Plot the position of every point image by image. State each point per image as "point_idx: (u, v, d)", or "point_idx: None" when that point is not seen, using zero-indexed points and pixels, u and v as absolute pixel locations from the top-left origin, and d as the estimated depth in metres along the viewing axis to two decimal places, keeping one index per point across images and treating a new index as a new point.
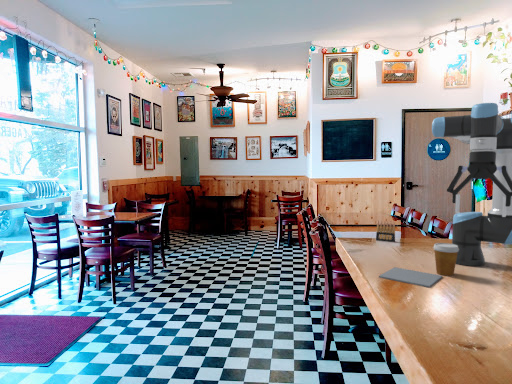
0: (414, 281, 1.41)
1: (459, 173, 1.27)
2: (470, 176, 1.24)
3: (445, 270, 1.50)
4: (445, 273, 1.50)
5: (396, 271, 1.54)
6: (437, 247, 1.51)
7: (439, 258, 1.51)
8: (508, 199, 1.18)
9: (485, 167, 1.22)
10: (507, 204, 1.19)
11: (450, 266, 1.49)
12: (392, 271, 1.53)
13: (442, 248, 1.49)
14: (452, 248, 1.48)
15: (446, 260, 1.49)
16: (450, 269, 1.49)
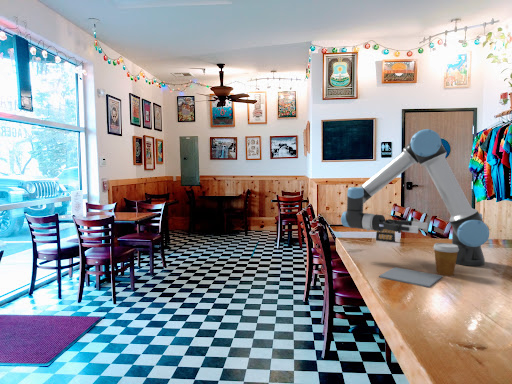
0: (414, 281, 1.41)
1: None
2: None
3: (445, 270, 1.50)
4: (445, 273, 1.50)
5: (396, 271, 1.54)
6: (437, 247, 1.51)
7: (439, 258, 1.51)
8: (403, 230, 1.55)
9: None
10: None
11: (450, 266, 1.49)
12: (392, 271, 1.53)
13: (442, 248, 1.49)
14: (452, 248, 1.48)
15: (446, 260, 1.49)
16: (450, 269, 1.49)
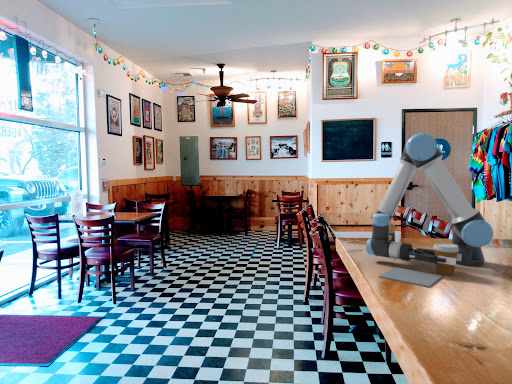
0: (414, 281, 1.41)
1: None
2: None
3: (445, 270, 1.50)
4: (445, 273, 1.50)
5: (396, 271, 1.54)
6: (437, 247, 1.51)
7: None
8: None
9: None
10: None
11: (450, 266, 1.49)
12: (392, 271, 1.53)
13: (442, 248, 1.49)
14: (452, 248, 1.48)
15: None
16: (450, 269, 1.49)
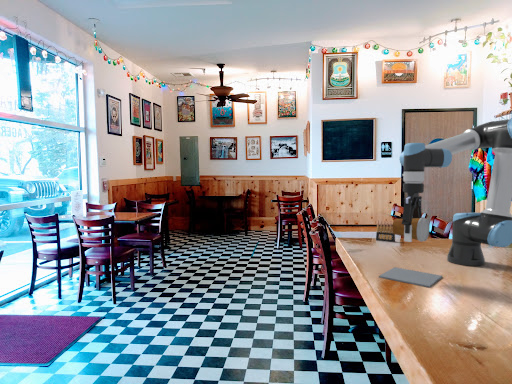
0: (414, 281, 1.41)
1: None
2: None
3: (397, 230, 1.47)
4: (394, 230, 1.48)
5: (396, 271, 1.54)
6: (421, 225, 1.41)
7: None
8: None
9: None
10: None
11: (402, 234, 1.47)
12: (392, 271, 1.53)
13: (420, 230, 1.40)
14: (421, 238, 1.41)
15: None
16: (399, 234, 1.48)
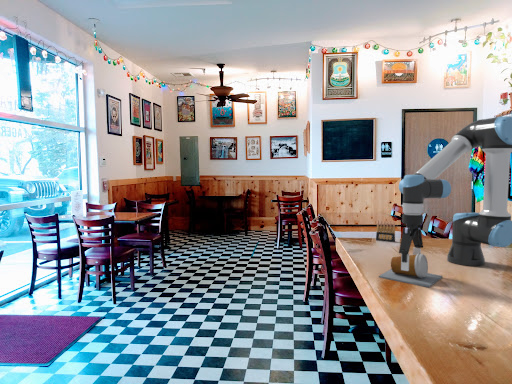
0: (414, 281, 1.41)
1: None
2: None
3: (396, 269, 1.48)
4: (393, 269, 1.49)
5: None
6: (418, 262, 1.42)
7: None
8: None
9: None
10: None
11: (401, 272, 1.48)
12: (392, 271, 1.53)
13: (418, 267, 1.42)
14: (421, 275, 1.42)
15: None
16: (398, 272, 1.49)
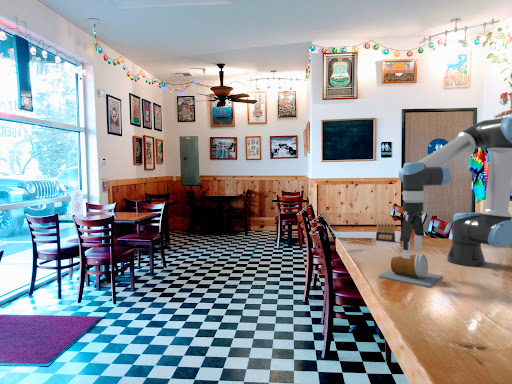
0: (414, 281, 1.41)
1: None
2: None
3: (396, 269, 1.48)
4: (393, 269, 1.49)
5: None
6: (418, 262, 1.42)
7: (407, 264, 1.45)
8: None
9: None
10: None
11: (401, 272, 1.48)
12: (392, 271, 1.53)
13: (418, 267, 1.41)
14: (421, 275, 1.42)
15: (407, 270, 1.45)
16: (398, 272, 1.49)
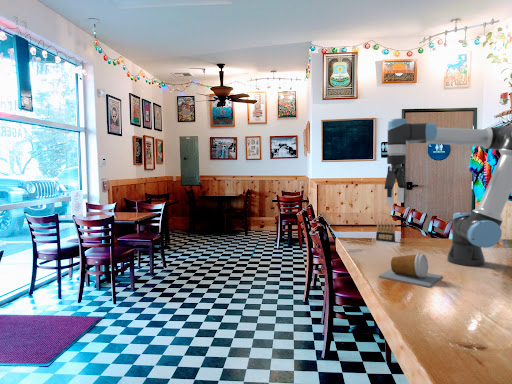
0: (414, 281, 1.41)
1: None
2: None
3: (396, 268, 1.48)
4: (393, 269, 1.49)
5: None
6: (418, 261, 1.42)
7: (407, 264, 1.45)
8: None
9: None
10: None
11: (402, 272, 1.48)
12: (392, 271, 1.53)
13: (418, 267, 1.42)
14: (421, 275, 1.42)
15: (407, 270, 1.45)
16: (398, 272, 1.49)
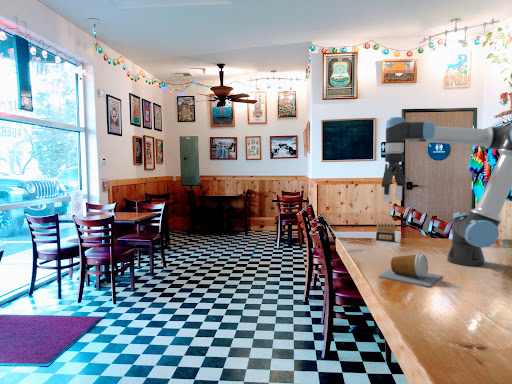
0: (414, 281, 1.41)
1: None
2: None
3: (396, 268, 1.48)
4: (393, 269, 1.49)
5: None
6: (418, 261, 1.42)
7: (407, 264, 1.45)
8: None
9: None
10: None
11: (402, 272, 1.48)
12: (392, 271, 1.53)
13: (418, 267, 1.42)
14: (421, 275, 1.42)
15: (407, 270, 1.45)
16: (398, 272, 1.49)
